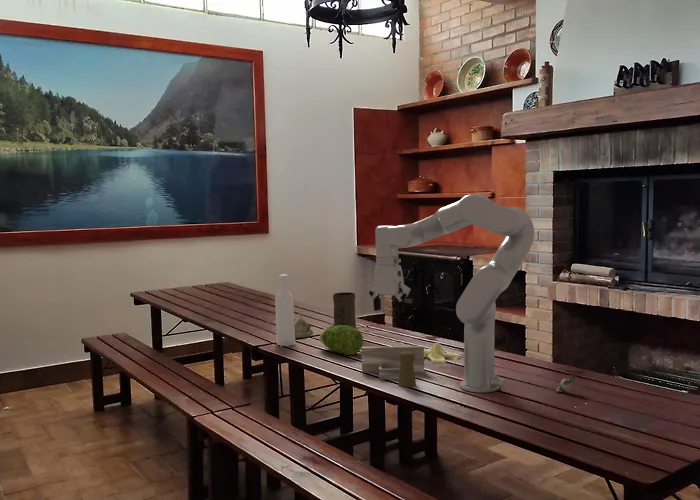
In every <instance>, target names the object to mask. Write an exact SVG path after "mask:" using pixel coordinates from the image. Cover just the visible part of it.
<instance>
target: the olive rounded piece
mask: <svg viewBox="0 0 700 500" xmlns="http://www.w3.org/2000/svg"><path fill="white" fill-rule="evenodd" d="M414 359H415V357H414V354H413V353H412V352H408V351H405V352H401V353H400V354H399V361H400V362H401V363H400V372H399V379H397V380H398V382H397V386H399V387H401V388H414V387H416V386H417V382H416V375H415V374H416V372H414V366H413V361H414Z"/></svg>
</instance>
